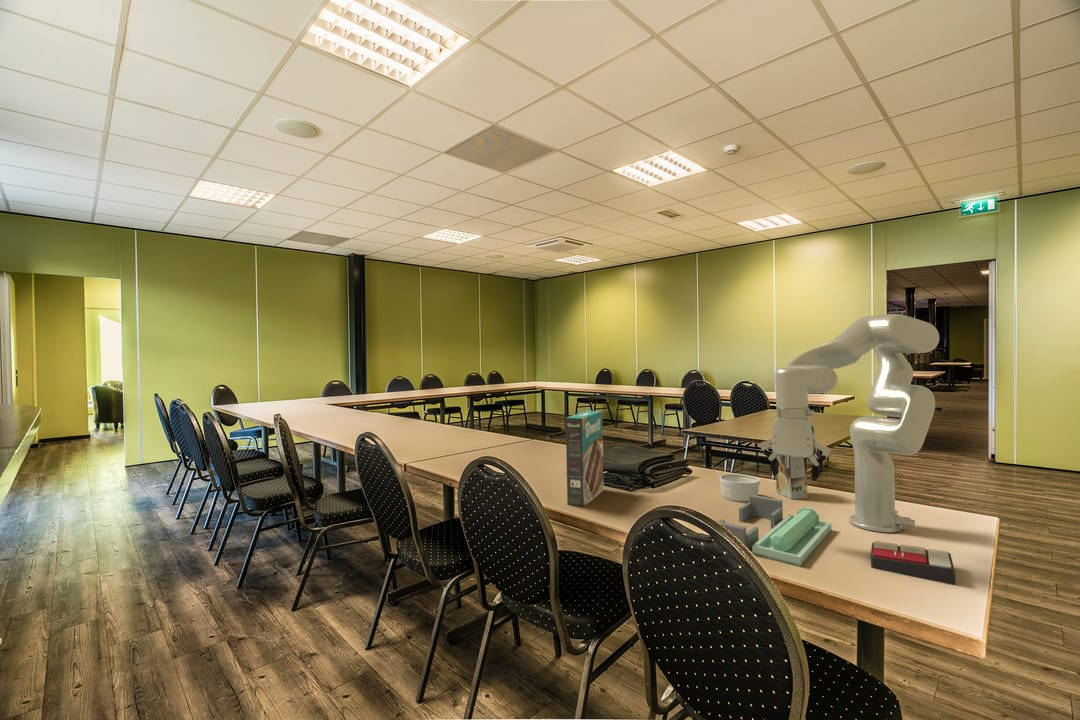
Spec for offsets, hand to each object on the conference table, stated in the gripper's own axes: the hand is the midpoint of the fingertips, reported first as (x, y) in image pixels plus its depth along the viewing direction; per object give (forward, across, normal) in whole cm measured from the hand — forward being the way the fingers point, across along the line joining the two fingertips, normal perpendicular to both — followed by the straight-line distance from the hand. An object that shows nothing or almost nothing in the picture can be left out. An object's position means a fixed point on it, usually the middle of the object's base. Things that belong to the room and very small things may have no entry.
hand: (794, 477), depth 128 cm
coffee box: (+19, +14, -44) cm, 50 cm away
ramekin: (+18, +26, -30) cm, 44 cm away
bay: (+17, +12, +1) cm, 21 cm away
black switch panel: (+18, -24, 0) cm, 30 cm away
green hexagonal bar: (+17, +1, +1) cm, 17 cm away
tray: (+17, 0, +1) cm, 17 cm away
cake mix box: (+17, +69, +4) cm, 71 cm away
